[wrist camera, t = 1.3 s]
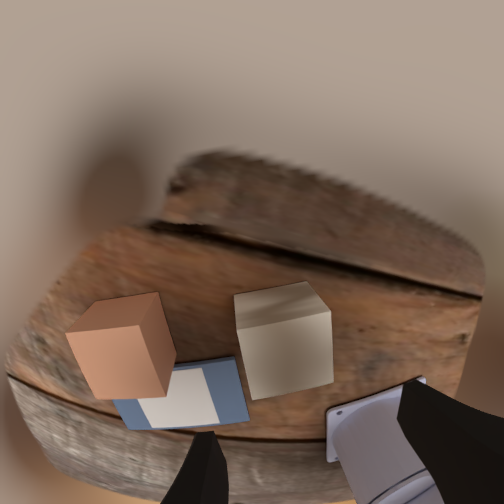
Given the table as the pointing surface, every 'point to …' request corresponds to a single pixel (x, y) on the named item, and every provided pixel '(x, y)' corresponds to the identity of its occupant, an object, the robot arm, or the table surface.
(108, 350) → the terracotta block
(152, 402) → the blue flat board
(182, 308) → the table surface
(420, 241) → the table surface
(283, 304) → the cream block
